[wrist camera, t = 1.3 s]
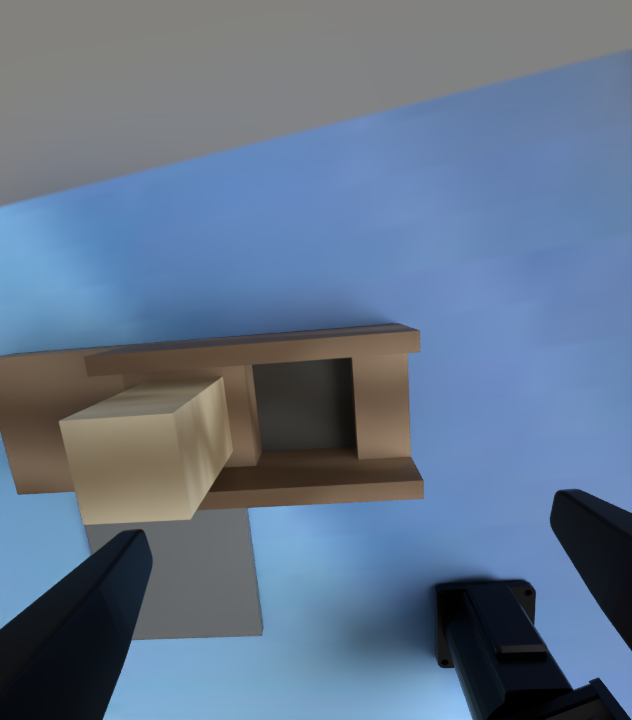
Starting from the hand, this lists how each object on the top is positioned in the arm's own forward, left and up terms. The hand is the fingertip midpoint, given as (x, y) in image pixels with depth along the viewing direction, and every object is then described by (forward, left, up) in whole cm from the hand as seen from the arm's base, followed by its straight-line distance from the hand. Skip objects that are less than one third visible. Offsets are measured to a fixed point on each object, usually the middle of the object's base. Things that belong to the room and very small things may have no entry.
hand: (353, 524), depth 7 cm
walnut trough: (-1, +7, -13) cm, 15 cm away
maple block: (-1, +9, -11) cm, 14 cm away
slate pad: (-13, +12, -13) cm, 22 cm away
